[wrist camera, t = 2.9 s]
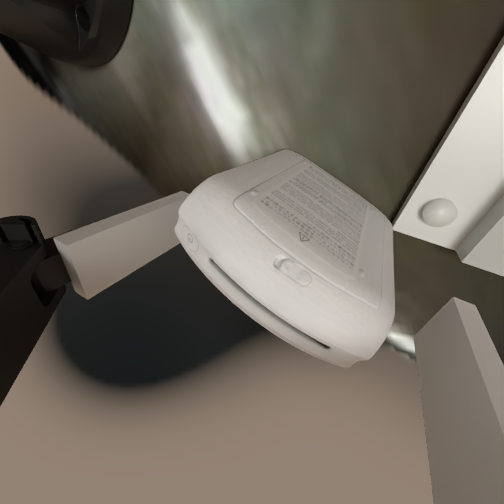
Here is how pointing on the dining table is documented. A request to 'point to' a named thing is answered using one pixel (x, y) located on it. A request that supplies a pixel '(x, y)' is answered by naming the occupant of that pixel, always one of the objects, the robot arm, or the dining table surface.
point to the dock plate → (466, 179)
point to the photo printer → (296, 254)
